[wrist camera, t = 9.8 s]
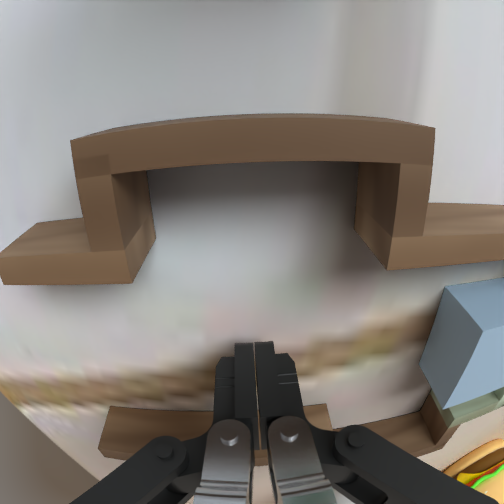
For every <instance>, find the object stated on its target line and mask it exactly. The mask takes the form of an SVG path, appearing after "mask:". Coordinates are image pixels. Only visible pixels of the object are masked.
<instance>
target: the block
mask: <svg viewBox="0 0 504 504" xmlns="http://www.w3.org/2000/svg"><path fill="white" fill-rule="evenodd" d="M419 366H420V368H421V369H422V371H423V373H424V375H425V377H426V379H427V380H428V382H429V384H430V386H431V388H432V390H433V392H434V394H435V396H436V397H437V399H438V401H439V403H440V405H441V407H442V409H446V408H449V407H452V406H455V405H458V404H461V403H464V402H466V401H469V400H472V399H475V398H477V397H480V396H482V395H485V394H487V393H490V392H492V391H495V390H497V389H499V388H502V387H504V277H502V278H497V279H490V280H484V281H478V282H471V283H465V284H458V285H451V286H445V288H444V292H443V295H442V298H441V302H440V305H439V308H438V311H437V315H436V318H435V321H434V324H433V327H432V330H431V332H430V335H429V338H428V341H427V344H426V346H425V349H424V352H423V354H422V357H421V359H420V362H419Z"/></svg>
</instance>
